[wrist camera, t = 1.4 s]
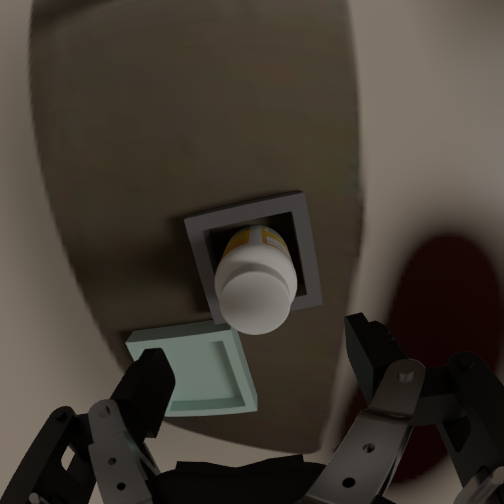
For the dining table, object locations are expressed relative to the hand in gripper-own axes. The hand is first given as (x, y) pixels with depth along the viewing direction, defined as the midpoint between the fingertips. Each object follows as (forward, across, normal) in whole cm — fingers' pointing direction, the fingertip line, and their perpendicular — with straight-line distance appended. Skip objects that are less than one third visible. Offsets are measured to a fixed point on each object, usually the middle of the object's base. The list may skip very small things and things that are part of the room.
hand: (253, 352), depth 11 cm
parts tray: (+14, +9, +11) cm, 20 cm away
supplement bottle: (+14, 0, 0) cm, 14 cm away
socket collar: (+14, 0, 0) cm, 14 cm away
